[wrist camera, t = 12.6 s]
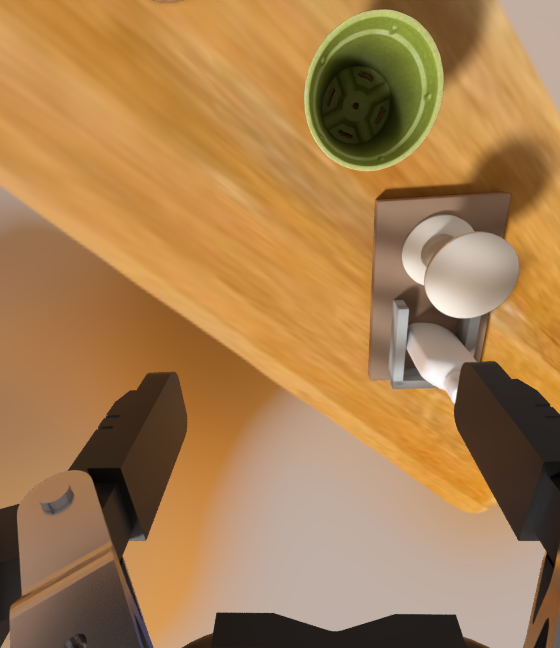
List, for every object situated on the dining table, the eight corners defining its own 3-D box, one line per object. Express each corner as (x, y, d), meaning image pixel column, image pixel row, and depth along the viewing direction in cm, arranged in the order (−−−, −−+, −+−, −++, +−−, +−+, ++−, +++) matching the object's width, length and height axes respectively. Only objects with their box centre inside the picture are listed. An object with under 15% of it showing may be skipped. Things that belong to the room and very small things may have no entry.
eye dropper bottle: (427, 364, 43) (471, 439, 32) (395, 333, 41) (429, 401, 30) (460, 339, 41) (517, 409, 30) (427, 306, 40) (475, 368, 29)
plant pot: (428, 63, 32) (470, 37, 24) (384, 177, 36) (407, 187, 28) (323, 25, 31) (331, -14, 23) (290, 146, 35) (287, 148, 27)
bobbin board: (375, 199, 37) (398, 217, 28) (503, 191, 36) (568, 207, 27) (368, 373, 45) (384, 428, 37) (471, 370, 44) (513, 426, 36)
